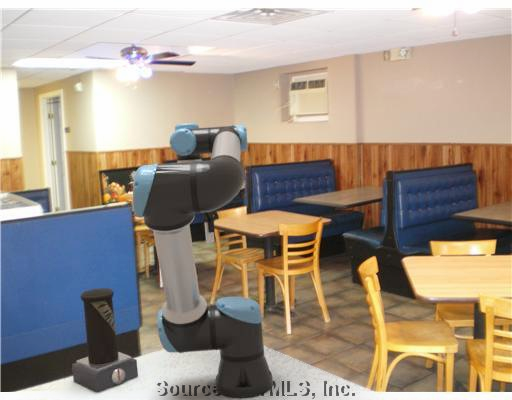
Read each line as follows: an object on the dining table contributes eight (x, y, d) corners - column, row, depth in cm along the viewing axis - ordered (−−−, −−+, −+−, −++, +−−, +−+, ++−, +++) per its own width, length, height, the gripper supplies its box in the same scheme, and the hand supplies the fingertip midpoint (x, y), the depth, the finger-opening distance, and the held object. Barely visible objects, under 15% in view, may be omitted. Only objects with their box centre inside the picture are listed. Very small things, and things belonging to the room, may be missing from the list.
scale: (139, 377, 158) (137, 356, 158) (99, 393, 149) (96, 372, 148) (113, 366, 168) (111, 347, 167) (73, 381, 159) (71, 361, 158)
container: (111, 364, 153) (105, 293, 151) (81, 364, 155) (74, 294, 153) (124, 352, 161) (118, 285, 160) (95, 352, 163) (89, 286, 161)
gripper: (227, 172, 166) (232, 242, 168) (175, 173, 183) (180, 236, 185) (208, 174, 161) (213, 246, 163) (156, 175, 178) (162, 240, 180)
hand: (195, 241), depth 174 cm, fingers open, 13 cm apart
